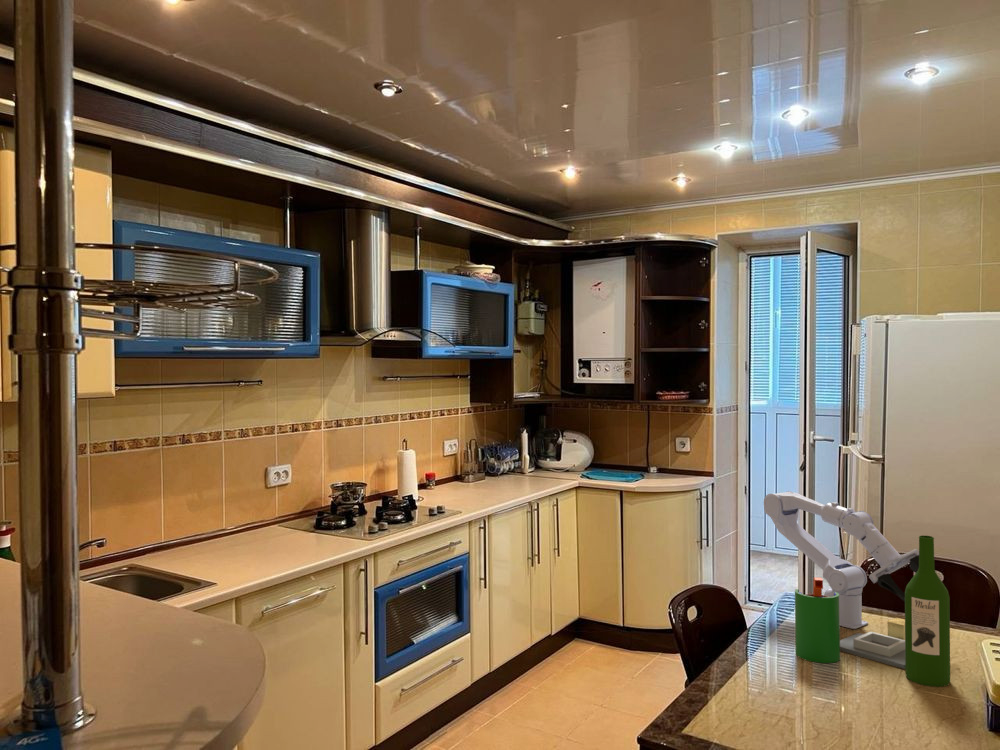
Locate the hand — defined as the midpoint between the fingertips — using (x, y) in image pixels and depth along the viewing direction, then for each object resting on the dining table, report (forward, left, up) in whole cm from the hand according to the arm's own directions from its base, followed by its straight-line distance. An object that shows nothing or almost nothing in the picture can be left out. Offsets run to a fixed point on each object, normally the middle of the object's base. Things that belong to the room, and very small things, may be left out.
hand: (918, 592), depth 195 cm
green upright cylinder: (-12, -28, -14) cm, 33 cm away
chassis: (-4, -13, -14) cm, 19 cm away
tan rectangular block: (-4, -2, -14) cm, 14 cm away
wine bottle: (+11, -22, -14) cm, 28 cm away
